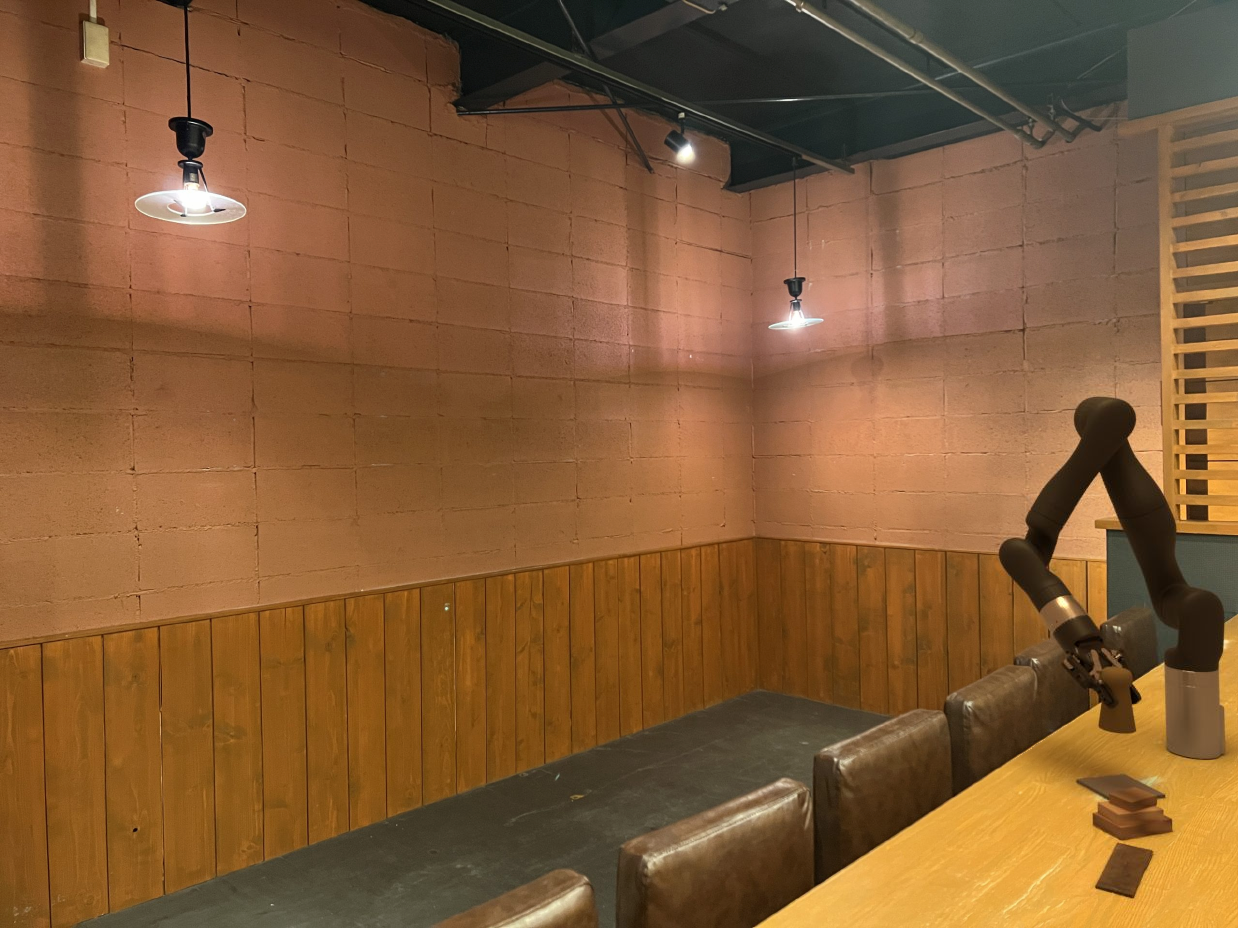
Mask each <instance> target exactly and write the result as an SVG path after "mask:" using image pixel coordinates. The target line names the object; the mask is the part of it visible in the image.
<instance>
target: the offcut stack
mask: <svg viewBox="0 0 1238 928" xmlns="http://www.w3.org/2000/svg"><path fill="white" fill-rule="evenodd" d="M1164 812H1165V811H1164V809H1163V808H1161V807H1159V806H1158V799H1157V795H1154V794H1152V793H1149V792H1146V791H1144V790H1141V789H1139V788H1136V787H1133V788H1129V789H1125V790H1121V791H1117V792H1113V793H1110V794H1109V800H1107V801H1106V800H1105V801H1099V802H1097V811H1096V812H1092V813H1091V814H1092V825H1093V826H1094V827H1097V828H1098V829H1099V830H1101V831H1103V832H1106V833H1107V834H1108V835H1109V834H1110V836H1113V837H1115V838H1117V839H1119V840H1121V841H1124V840H1125V841H1126V840H1130V839H1135V838H1142V837H1146V836H1152V835H1159V834H1163V833H1164V834H1165V833H1170V832H1173V818H1172V817H1169V816H1166V815H1165V814H1164Z"/></svg>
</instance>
